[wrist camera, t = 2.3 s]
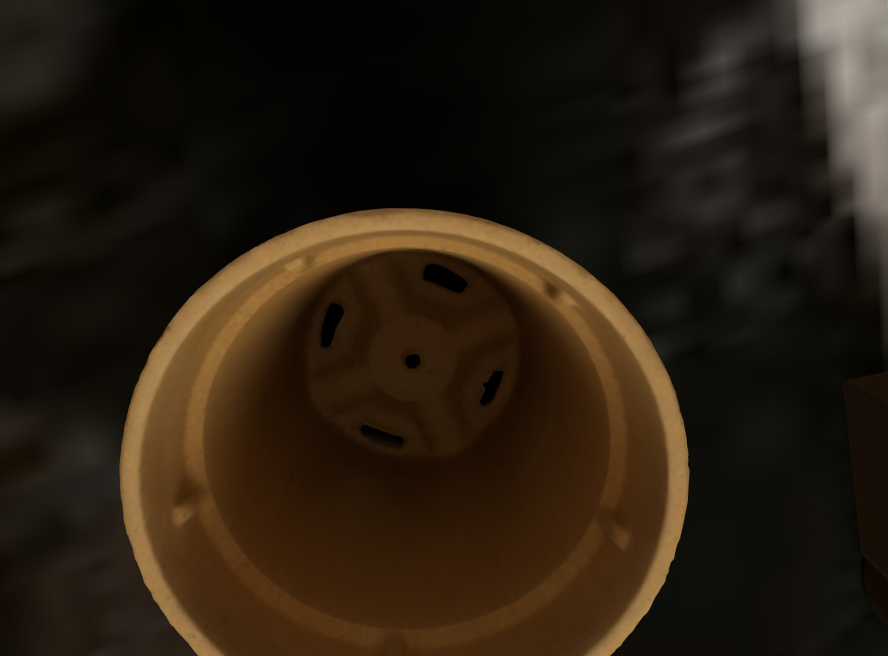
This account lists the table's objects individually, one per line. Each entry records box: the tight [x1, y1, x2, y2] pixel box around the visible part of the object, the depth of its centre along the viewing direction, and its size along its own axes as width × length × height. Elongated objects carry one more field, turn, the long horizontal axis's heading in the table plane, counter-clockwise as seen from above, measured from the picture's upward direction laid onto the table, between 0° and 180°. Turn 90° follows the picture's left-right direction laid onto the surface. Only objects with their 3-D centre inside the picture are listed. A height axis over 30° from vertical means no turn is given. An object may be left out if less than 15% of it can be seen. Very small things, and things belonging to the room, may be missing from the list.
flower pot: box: [120, 208, 689, 656], centre depth 17 cm, size 9×9×9 cm
